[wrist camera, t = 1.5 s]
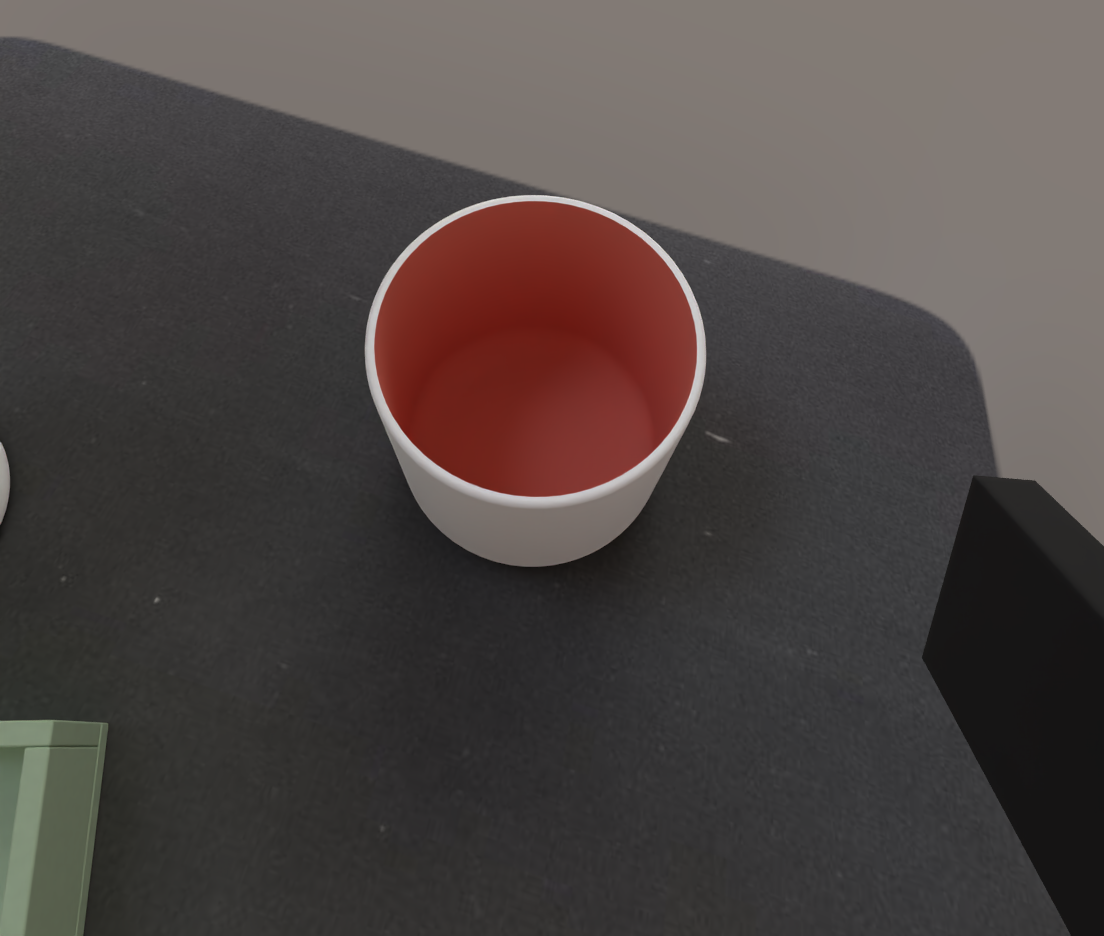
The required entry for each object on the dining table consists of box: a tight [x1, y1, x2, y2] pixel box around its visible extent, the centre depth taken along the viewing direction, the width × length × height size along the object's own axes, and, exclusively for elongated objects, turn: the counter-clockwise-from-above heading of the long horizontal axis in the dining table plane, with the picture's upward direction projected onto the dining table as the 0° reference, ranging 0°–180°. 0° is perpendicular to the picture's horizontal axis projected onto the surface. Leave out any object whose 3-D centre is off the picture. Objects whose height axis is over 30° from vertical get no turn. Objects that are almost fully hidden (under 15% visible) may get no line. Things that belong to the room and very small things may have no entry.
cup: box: [365, 195, 706, 567], centre depth 31 cm, size 10×10×10 cm
